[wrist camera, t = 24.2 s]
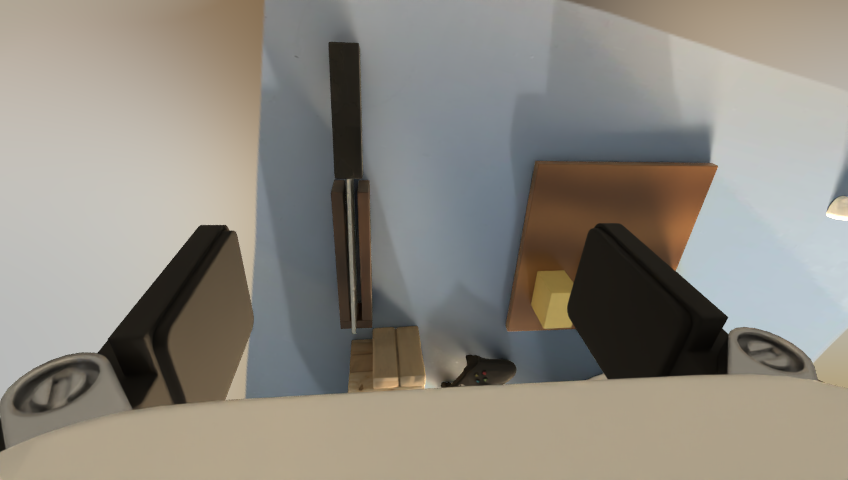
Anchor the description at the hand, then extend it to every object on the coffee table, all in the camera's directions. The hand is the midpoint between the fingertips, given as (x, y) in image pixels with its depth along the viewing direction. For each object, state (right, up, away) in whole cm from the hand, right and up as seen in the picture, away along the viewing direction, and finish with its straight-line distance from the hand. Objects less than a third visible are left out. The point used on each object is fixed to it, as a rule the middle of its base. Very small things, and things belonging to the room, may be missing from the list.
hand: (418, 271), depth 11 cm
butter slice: (+14, -4, +33) cm, 36 cm away
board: (+19, 0, +33) cm, 38 cm away
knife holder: (-7, 0, +29) cm, 30 cm away
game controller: (+6, -16, +40) cm, 44 cm away
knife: (-6, +5, +26) cm, 27 cm away
